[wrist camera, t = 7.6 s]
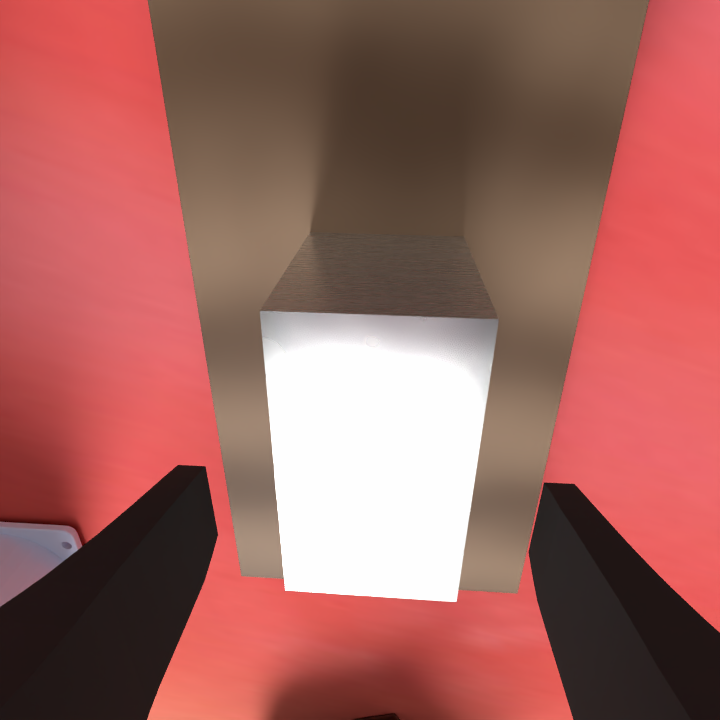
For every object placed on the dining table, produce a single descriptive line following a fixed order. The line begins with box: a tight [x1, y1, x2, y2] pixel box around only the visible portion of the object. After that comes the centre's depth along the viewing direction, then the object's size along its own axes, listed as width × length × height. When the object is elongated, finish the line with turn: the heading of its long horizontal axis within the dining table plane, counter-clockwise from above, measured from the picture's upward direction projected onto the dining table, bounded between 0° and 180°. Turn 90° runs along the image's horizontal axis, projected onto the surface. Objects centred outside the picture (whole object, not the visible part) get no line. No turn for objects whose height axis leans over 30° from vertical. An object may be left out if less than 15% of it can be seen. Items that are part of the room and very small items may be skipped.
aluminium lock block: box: [260, 232, 499, 602], centre depth 14 cm, size 8×4×6 cm, turn 179°
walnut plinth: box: [148, 0, 649, 593], centre depth 18 cm, size 22×12×2 cm, turn 0°
